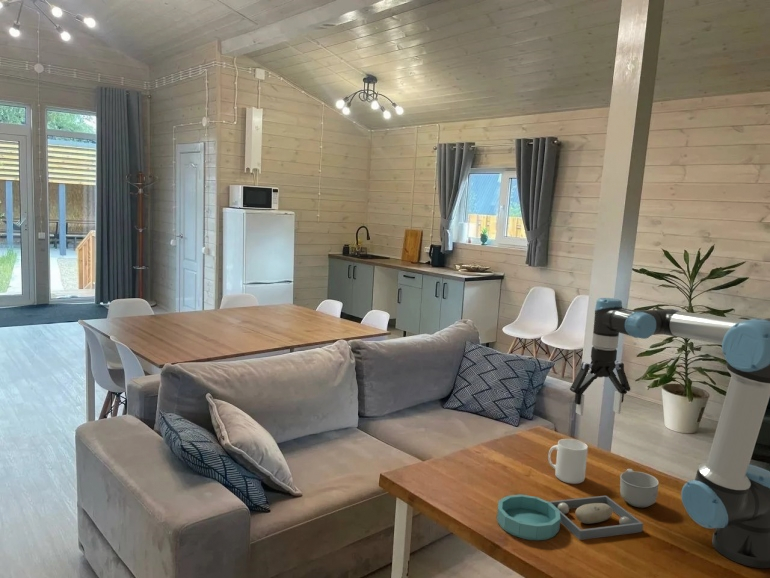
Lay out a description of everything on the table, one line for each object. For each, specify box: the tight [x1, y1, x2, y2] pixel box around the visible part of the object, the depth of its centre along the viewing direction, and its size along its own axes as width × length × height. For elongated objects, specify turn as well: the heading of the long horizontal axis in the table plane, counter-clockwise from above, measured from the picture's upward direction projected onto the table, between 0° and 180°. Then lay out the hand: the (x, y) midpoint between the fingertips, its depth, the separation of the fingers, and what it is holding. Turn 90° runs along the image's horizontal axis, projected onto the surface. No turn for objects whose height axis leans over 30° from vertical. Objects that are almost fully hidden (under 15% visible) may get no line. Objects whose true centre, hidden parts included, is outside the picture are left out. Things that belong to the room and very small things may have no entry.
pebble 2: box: [618, 516, 631, 525], centre depth 165 cm, size 3×3×3 cm
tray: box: [548, 495, 644, 541], centre depth 168 cm, size 16×20×2 cm
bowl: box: [496, 494, 561, 541], centre depth 164 cm, size 17×17×4 cm
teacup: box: [619, 468, 660, 509], centre depth 181 cm, size 14×11×8 cm
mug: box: [547, 438, 589, 485], centre depth 194 cm, size 10×12×12 cm
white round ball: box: [558, 503, 570, 515], centre depth 171 cm, size 3×3×3 cm
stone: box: [574, 503, 613, 525], centre depth 168 cm, size 6×6×12 cm
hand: (598, 413), depth 186 cm, fingers open, 13 cm apart
